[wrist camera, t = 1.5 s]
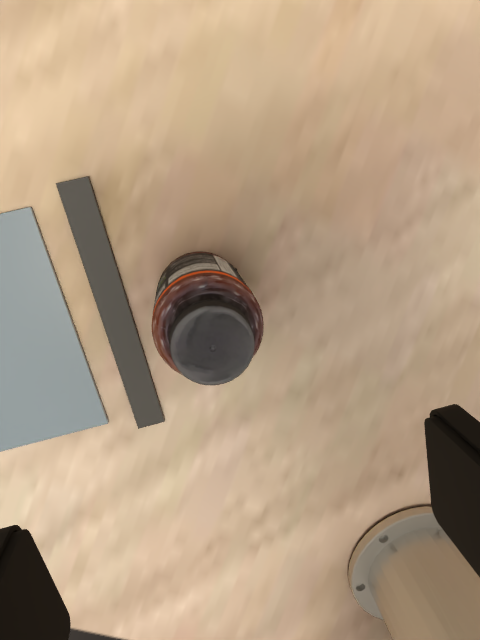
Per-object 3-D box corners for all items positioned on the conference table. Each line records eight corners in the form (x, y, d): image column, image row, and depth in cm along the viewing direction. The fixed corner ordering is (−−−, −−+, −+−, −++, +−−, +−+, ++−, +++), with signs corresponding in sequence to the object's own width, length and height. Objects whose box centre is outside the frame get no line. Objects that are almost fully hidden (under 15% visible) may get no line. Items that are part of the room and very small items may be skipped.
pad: (31, 206, 28) (30, 206, 28) (108, 421, 33) (108, 423, 33) (-130, 243, 28) (-133, 244, 27) (-26, 456, 33) (-28, 458, 32)
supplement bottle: (241, 330, 33) (274, 403, 22) (159, 333, 32) (151, 411, 21) (241, 248, 31) (277, 284, 20) (154, 250, 30) (143, 289, 19)
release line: (88, 176, 28) (87, 176, 28) (164, 419, 34) (164, 421, 33) (57, 183, 28) (55, 183, 28) (138, 425, 34) (138, 428, 33)
